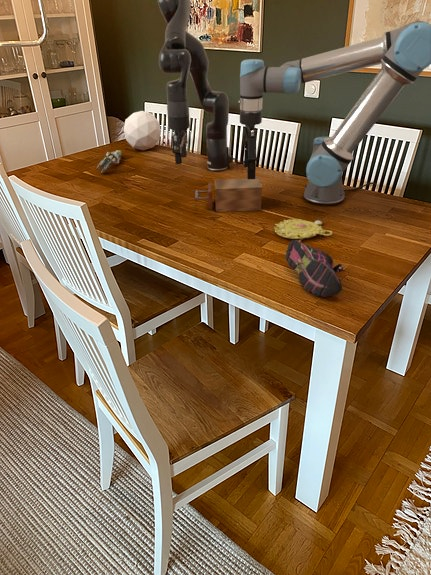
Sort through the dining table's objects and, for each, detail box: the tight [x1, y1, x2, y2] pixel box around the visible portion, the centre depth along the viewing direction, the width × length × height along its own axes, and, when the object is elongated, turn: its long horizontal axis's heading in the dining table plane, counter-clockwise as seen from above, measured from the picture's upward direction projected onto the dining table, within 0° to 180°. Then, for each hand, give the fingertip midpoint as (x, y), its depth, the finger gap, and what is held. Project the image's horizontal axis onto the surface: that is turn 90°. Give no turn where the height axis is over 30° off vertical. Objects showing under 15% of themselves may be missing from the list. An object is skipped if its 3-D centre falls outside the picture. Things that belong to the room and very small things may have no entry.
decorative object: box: [273, 218, 333, 242], centre depth 145 cm, size 21×2×20 cm
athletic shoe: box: [285, 239, 346, 298], centre depth 119 cm, size 11×22×12 cm
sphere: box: [123, 110, 162, 151], centre depth 233 cm, size 19×20×20 cm
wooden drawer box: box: [214, 177, 263, 213], centre depth 165 cm, size 17×10×9 cm, turn 92°
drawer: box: [194, 182, 213, 210], centre depth 165 cm, size 20×9×7 cm, turn 92°
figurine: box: [96, 150, 123, 174], centre depth 213 cm, size 7×8×30 cm
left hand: (181, 160), depth 162 cm, fingers open, 8 cm apart
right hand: (249, 172), depth 161 cm, fingers open, 13 cm apart
